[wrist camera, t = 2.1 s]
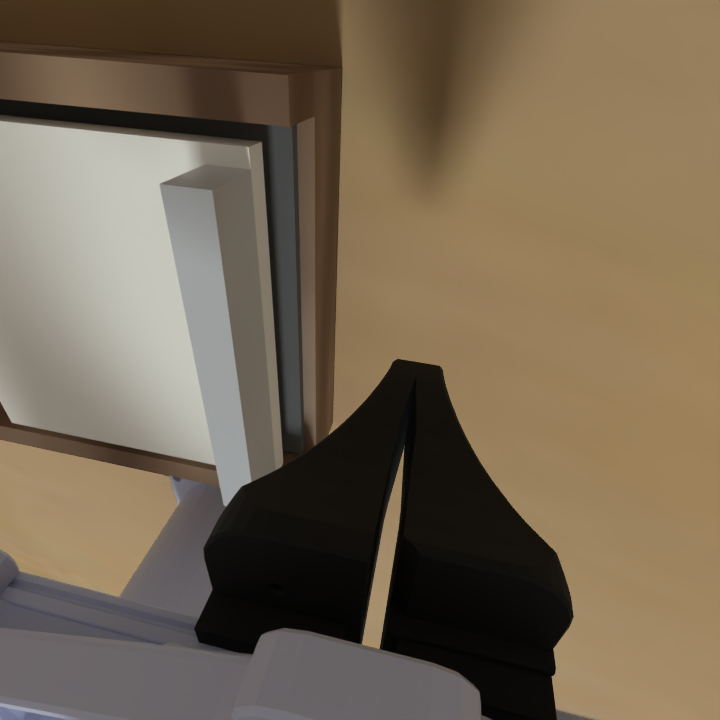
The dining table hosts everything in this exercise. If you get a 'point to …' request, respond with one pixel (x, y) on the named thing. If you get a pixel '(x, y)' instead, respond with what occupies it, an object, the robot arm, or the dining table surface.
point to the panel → (280, 223)
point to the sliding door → (139, 292)
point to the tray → (218, 102)
